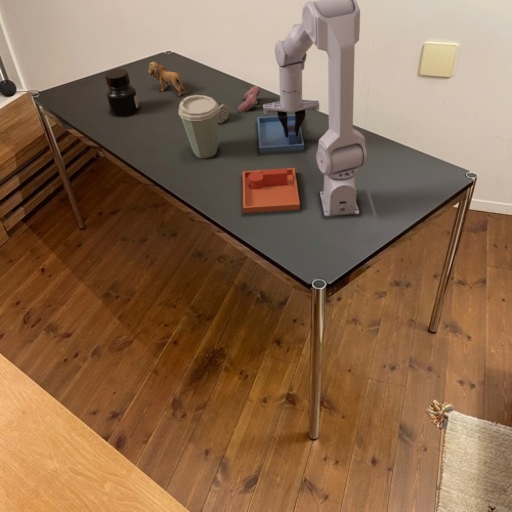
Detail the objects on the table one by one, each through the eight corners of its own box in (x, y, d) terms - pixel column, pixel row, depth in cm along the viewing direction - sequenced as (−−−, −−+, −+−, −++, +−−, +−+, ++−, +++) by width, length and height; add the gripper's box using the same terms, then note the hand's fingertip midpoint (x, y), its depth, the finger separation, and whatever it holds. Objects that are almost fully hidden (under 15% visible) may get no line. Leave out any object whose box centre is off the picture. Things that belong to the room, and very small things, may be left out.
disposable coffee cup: (230, 145, 142) (224, 95, 132) (215, 166, 135) (208, 114, 125) (196, 140, 145) (188, 91, 135) (179, 160, 138) (169, 109, 128)
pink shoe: (249, 118, 156) (258, 99, 152) (236, 111, 156) (245, 92, 151) (256, 103, 163) (265, 85, 159) (243, 97, 163) (251, 78, 158)
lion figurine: (149, 90, 172) (143, 64, 166) (158, 84, 175) (153, 58, 169) (185, 97, 166) (180, 70, 160) (194, 90, 169) (190, 64, 163)
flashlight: (178, 115, 157) (175, 99, 154) (189, 108, 161) (187, 91, 157) (219, 126, 151) (216, 109, 147) (229, 118, 154) (227, 101, 150)
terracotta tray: (299, 211, 119) (299, 204, 117) (243, 214, 119) (243, 207, 118) (294, 174, 130) (294, 167, 128) (243, 178, 130) (242, 171, 129)
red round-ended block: (286, 178, 128) (286, 166, 126) (287, 187, 125) (287, 175, 123) (248, 180, 128) (247, 168, 126) (249, 189, 125) (248, 178, 123)
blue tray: (304, 151, 138) (304, 144, 136) (259, 154, 138) (259, 147, 137) (298, 120, 150) (298, 114, 149) (257, 123, 151) (257, 117, 149)
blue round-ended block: (299, 145, 138) (299, 134, 135) (285, 146, 138) (284, 135, 135) (296, 128, 145) (296, 116, 142) (282, 128, 145) (282, 117, 143)
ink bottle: (145, 109, 162) (137, 72, 153) (123, 120, 157) (113, 82, 149) (127, 100, 167) (118, 64, 159) (105, 111, 162) (95, 74, 154)
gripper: (317, 79, 132) (316, 126, 142) (262, 83, 133) (264, 129, 142) (320, 91, 127) (319, 139, 136) (263, 95, 128) (265, 142, 137)
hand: (291, 135), depth 139 cm, fingers closed on blue round-ended block, 2 cm apart
